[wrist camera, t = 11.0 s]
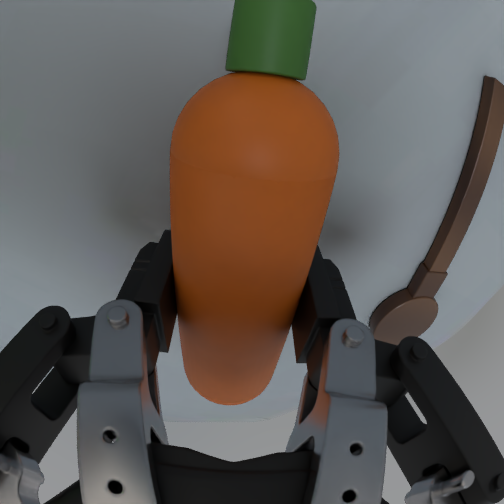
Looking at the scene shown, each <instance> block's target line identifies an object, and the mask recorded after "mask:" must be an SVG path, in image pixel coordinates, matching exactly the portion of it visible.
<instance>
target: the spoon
mask: <svg viewBox="0 0 504 504" xmlns="http://www.w3.org/2000/svg"><path fill="white" fill-rule="evenodd" d="M503 124H504V85H503V84H502V83H500V82H499V81H498V80H497V79H496V78H493V77H488V76H485V78H484V85H483V91H482V97H481V102H480V107H479V112H478V117H477V121H476V125H475V130H474V134H473V137H472V141H471V145H470V148H469V152H468V155H467V158H466V162H465V165H464V168H463V171H462V174H461V177H460V180H459V183H458V185H457V188H456V191H455V193H454V196H453V199H452V201H451V204H450V206H449V209H448V211H447V214H446V216H445V218H444V221H443V223H442V225H441V227H440V230H439V232H438V234H437V236H436V238H435V241H434V243H433V245H432V247H431V249H430V251H429V253H428V255H427V257H426V259H425V261H424V263H421V264H420V266H419V268H418V270H417V272H416V274H415V275H414V277H413V279H412V281H411V283H410V284H409V286H408V288H407V289H404V290H402V291H399V292H397V293H395V294H394V295H392V296H390V297H389V298H388V299H386V300H385V301H384V302H383V303H381V304H380V305H379V306H378V308H377V309H376V310H375V311H374V313H373V315H372V317H371V319H370V330H371V332H372V334H373V336H374V339H376V340H379V341H383V342H387V343H390V344H394V345H398V344H399V343H400V342H401V340H402V339H403V338H405V337H408V336H415V337H418V336H420V335H421V334H422V333H424V332H425V331H426V330H427V329H428V328H429V327H430V326H431V324H432V323H433V322H434V320H435V318H436V316H437V313H438V304H437V302H436V300H435V298H434V296H435V294H436V293H437V291H438V290H439V288H440V286H441V285H442V283H443V281H444V280H445V278H446V276H447V272H446V270H447V269H448V267H449V265H450V263H451V261H452V259H453V258H454V256H455V254H456V252H457V250H458V248H459V246H460V244H461V242H462V240H463V238H464V236H465V234H466V232H467V229H468V227H469V225H470V223H471V221H472V218H473V216H474V214H475V211H476V209H477V207H478V204H479V202H480V199H481V197H482V194H483V191H484V189H485V186H486V183H487V180H488V177H489V174H490V171H491V168H492V165H493V162H494V159H495V155H496V152H497V148H498V145H499V141H500V137H501V133H502V129H503Z"/></svg>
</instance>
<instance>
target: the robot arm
mask: <svg viewBox="0 0 504 504" xmlns="http://www.w3.org/2000/svg"><path fill="white" fill-rule="evenodd" d="M176 316H177V306H176V296H175V285H174V272H173V258H172V240H171V230H165V231H164V232H163V234H162V236H161V239H160V241H159V243H155V242H149V243H148V244H147V245H146V246H144V247H143V248H142V249H141V250H140V251H139V253H138V255H137V257H136V259H135V262H134V263H133V265H132V267H131V270H130V271H129V273H128V275H127V277H126V279H125V281H124V283H123V285H122V287H121V290H120V292H119V294H118V296H117V298H116V300H113V301H110V302H108V303H106V304H105V305H103V306H102V307H101V308H100V309H99V310H98V312H97V314H96V316H91V317H81V318H70V316H69V314H68V312H67V311H66V310H65V309H64V308H63V307H60V306H48V307H45V308H43V309H42V310H40V311H39V312H38V313H37V314H36V315H35V316H34V317H33V318H32V319H31V320H30V321H29V322H28V323H27V324H26V325H25V326H24V327H23V328H22V329H21V330H20V331H19V332H18V334H17V335H16V336H15V337H14V338H13V339H12V340H11V341H10V342H9V343H8V345H7V346H6V347H5V348H4V349H3V350H2V351H1V353H0V504H40V502H39V498H38V490H39V487H40V485H41V484H43V482H44V475H43V473H42V472H41V471H40V468H39V465H38V464H39V463H40V461H41V460H42V458H43V456H44V455H45V453H46V452H47V451H48V449H49V447H50V446H51V445H52V443H53V442H54V440H55V439H56V437H57V436H58V434H59V433H60V431H61V430H62V428H63V427H64V426H65V424H66V423H67V421H68V420H69V418H70V417H71V415H72V414H73V413H74V411H75V410H76V408H77V451H78V468H79V480H78V481H76V482H75V483H73V484H72V485H71V486H69V487H68V488H66V489H65V490H63V491H62V492H60V493H59V494H58V495H56V496H55V497H53V498H52V499H50V500H49V501H47V502H46V503H44V504H389V503H388V502H387V501H385V500H384V499H383V498H382V490H383V483H384V473H385V462H386V448H387V446H388V447H389V449H390V451H391V453H392V454H393V456H394V458H395V459H396V461H397V463H398V465H399V467H400V468H401V470H402V472H403V473H404V475H405V477H406V479H407V481H408V482H409V484H410V486H411V490H410V492H408V493H407V494H406V496H405V503H406V504H495V503H497V502H499V501H501V500H502V499H503V498H504V458H503V456H502V455H501V453H500V451H499V449H498V447H497V446H496V444H495V442H494V440H493V439H492V437H491V435H490V434H489V432H488V430H487V429H486V427H485V425H484V424H483V422H482V420H481V419H480V417H479V416H478V414H477V412H476V411H475V410H474V408H473V406H472V405H471V403H470V402H469V400H468V399H467V397H466V396H465V394H464V393H463V391H462V390H461V388H460V387H459V385H458V384H457V383H456V381H455V380H454V378H453V377H452V375H451V374H450V373H449V371H448V370H447V369H446V367H445V366H444V365H443V363H442V362H441V360H440V359H439V358H438V357H437V355H436V354H435V352H434V351H433V350H432V348H431V347H430V346H429V345H428V344H427V343H426V342H425V341H424V340H422V339H420V338H418V337H415V336H408V337H405V338H403V339H402V340H401V342H400V343H399V344H398V345H394V344H390V343H387V342H383V341H379V340H376V339H374V336H373V334H372V332H371V330H370V329H369V328H368V327H367V326H366V325H364V324H363V323H361V322H359V321H357V319H356V316H355V313H354V310H353V307H352V305H351V302H350V299H349V296H348V293H347V291H346V290H345V285H344V282H343V281H342V277H341V274H340V272H339V269H338V268H337V267H336V266H335V264H334V263H333V262H332V261H331V260H330V259H323V257H322V255H321V252H320V249H319V246H318V245H317V247H316V250H315V254H314V257H313V260H312V263H311V267H310V270H309V273H308V276H307V279H306V282H305V286H304V289H303V292H302V295H301V298H300V301H299V304H298V307H297V310H296V313H295V315H294V318H293V321H292V331H293V339H294V347H295V355H296V363H307V370H308V372H307V373H306V375H305V377H304V381H303V387H302V392H301V397H300V402H299V407H298V412H297V417H296V422H295V426H294V429H293V432H292V434H291V436H290V438H289V441H288V444H287V447H286V451H285V452H281V453H274V454H270V455H266V456H261V457H257V458H253V459H248V460H243V461H238V462H230V461H226V460H222V459H219V458H216V457H213V456H209V455H206V454H203V453H200V452H198V451H195V450H192V449H189V448H184V447H177V446H171V445H169V444H168V438H167V434H166V429H165V426H164V422H163V418H162V411H161V403H160V394H159V385H158V375H157V366H156V362H157V358H158V354H159V351H160V352H166V353H168V351H169V347H170V342H171V338H172V333H173V329H174V325H175V320H176ZM53 366H54V368H53V369H52V370H51V368H52V367H53ZM50 370H51V372H50V373H49V374H48V375H47V377H46V378H45V379H44V380H43V382H42V383H41V384H40V386H39V387H38V388H37V389H36V391H35V392H34V393H33V394H32V392H33V391H34V389H35V388H36V387H37V386H38V384H39V383H40V382H41V381H42V379H43V378H44V377H45V376H46V374H47V373H48V372H49V371H50ZM407 392H409V394H410V395H411V397H412V399H413V400H414V402H415V403H416V405H417V406H418V408H419V409H420V411H421V412H422V414H423V416H424V417H425V419H426V421H427V424H424V423H423V422H422V421H421V420H420V418H419V417H418V415H417V414H416V412H415V411H414V409H413V407H412V406H411V404H410V403H409V401H408V400H407V398H406V397H405V394H406V393H407ZM112 441H113V442H114V443H112Z"/></svg>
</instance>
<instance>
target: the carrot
mask: <svg viewBox="0 0 504 504" xmlns="http://www.w3.org/2000/svg"><path fill="white" fill-rule="evenodd" d="M315 14H316V5H315V3H314V2H313V1H312V0H235V4H234V10H233V17H232V23H231V30H230V37H229V44H228V52H227V60H226V70H227V71H232V72H234V73H230V74H227V75H225V76H222V77H220V78H217V79H215V80H213V81H212V82H210V83H209V84H207V85H206V86H204V87H203V88H201V89H200V90H199V91H198V92H197V93H196V94H195V95H194V96H193V97H192V98H191V99H190V100H189V101H188V102H187V103H186V105H185V107H184V108H183V110H182V111H181V113H180V115H179V116H178V119H177V121H176V124H175V127H174V130H173V132H172V140H171V147H170V215H171V240H172V258H173V272H174V285H175V296H176V306H177V316H178V325H179V333H180V341H181V348H182V356H183V363H184V368H185V373H186V375H187V378H188V380H189V382H190V384H191V385H192V386H193V388H194V389H195V390H196V391H197V392H198V393H199V394H200V395H201V396H203V397H204V398H206V399H208V400H209V401H212V402H214V403H217V404H222V405H238V404H243V403H245V402H248V401H250V400H252V399H254V398H255V397H257V396H258V395H260V394H261V393H262V392H263V390H264V389H265V388H266V387H267V385H268V384H269V382H270V380H271V378H272V376H273V373H274V370H275V368H276V365H277V362H278V360H279V357H280V355H281V352H282V349H283V346H284V344H285V341H286V338H287V335H288V333H289V330H290V327H291V324H292V321H293V318H294V315H295V313H296V310H297V307H298V304H299V301H300V298H301V295H302V292H303V289H304V286H305V282H306V279H307V276H308V273H309V270H310V267H311V263H312V260H313V257H314V254H315V250H316V247H317V244H318V240H319V237H320V233H321V230H322V227H323V223H324V219H325V216H326V212H327V209H328V205H329V201H330V197H331V194H332V190H333V186H334V182H335V178H336V174H337V169H338V162H339V143H338V135H337V131H336V128H335V125H334V122H333V119H332V117H331V116H330V114H329V112H328V110H327V109H326V107H325V105H324V104H323V103H322V102H321V101H320V99H319V98H318V97H317V96H316V95H315V94H314V93H313V92H312V91H311V90H309V89H308V88H307V87H305V86H304V85H303V84H301V83H300V82H298V81H296V80H305V79H306V74H307V67H308V61H309V55H310V48H311V42H312V35H313V28H314V21H315Z"/></svg>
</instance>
